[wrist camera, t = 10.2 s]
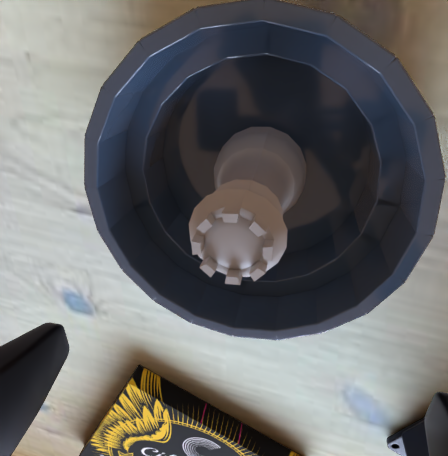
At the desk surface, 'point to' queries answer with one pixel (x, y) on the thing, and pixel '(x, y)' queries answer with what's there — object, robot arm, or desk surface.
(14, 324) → the desk surface
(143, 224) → the basin
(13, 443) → the robot arm
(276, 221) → the rook chess piece
